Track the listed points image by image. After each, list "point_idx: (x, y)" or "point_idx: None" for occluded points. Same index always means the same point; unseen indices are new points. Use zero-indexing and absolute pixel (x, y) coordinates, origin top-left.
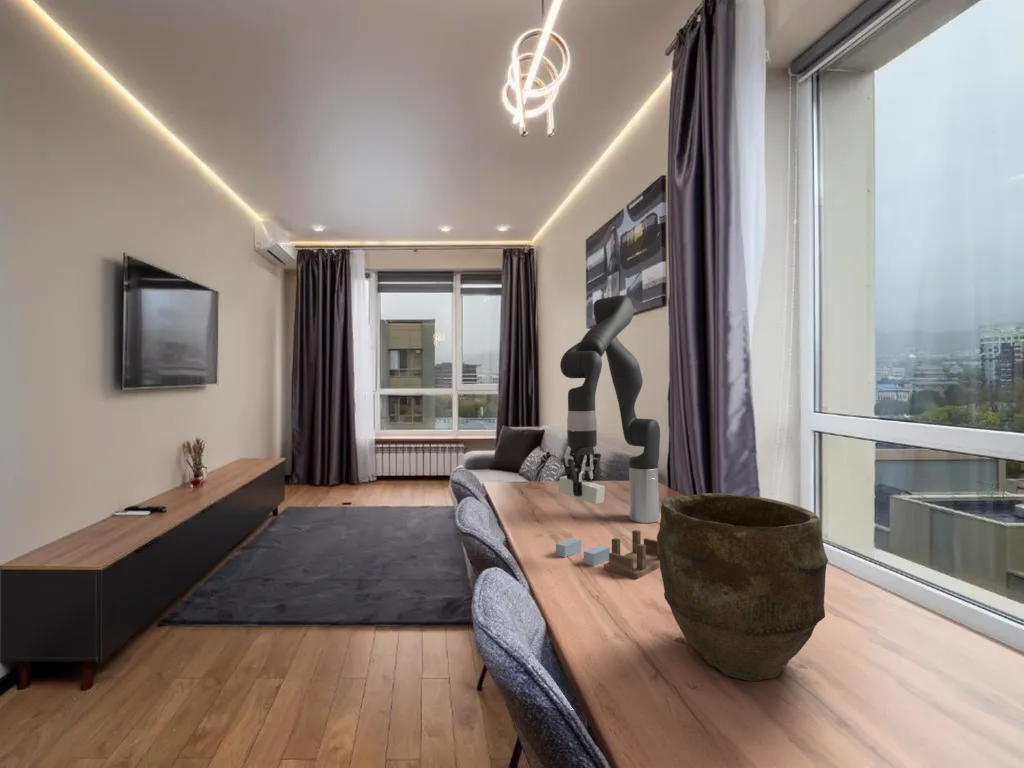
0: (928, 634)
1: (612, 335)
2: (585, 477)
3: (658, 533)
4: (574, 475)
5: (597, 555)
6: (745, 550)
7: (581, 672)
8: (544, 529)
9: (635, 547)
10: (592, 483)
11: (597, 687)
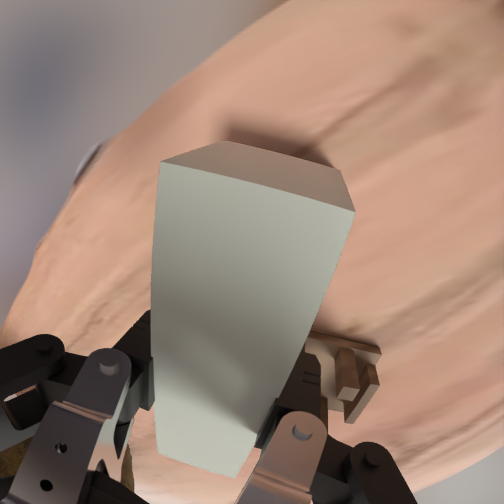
0: None
1: None
2: (271, 433)
3: (4, 460)
4: (33, 409)
5: None
6: None
7: (3, 332)
8: (463, 29)
9: (336, 363)
10: (231, 445)
11: (3, 345)
